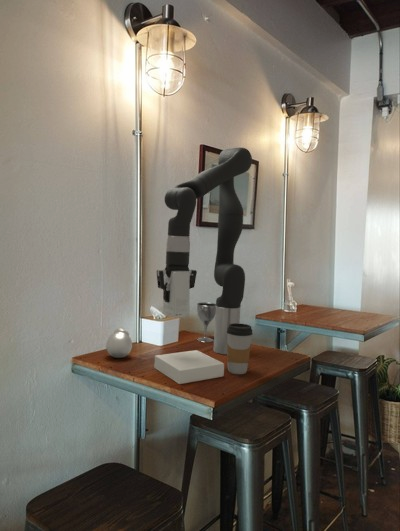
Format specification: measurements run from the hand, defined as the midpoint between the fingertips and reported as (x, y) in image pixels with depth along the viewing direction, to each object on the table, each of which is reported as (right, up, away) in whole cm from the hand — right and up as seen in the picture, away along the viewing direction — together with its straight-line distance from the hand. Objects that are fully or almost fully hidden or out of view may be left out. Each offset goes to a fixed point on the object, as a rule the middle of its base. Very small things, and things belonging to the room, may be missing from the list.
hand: (175, 301), depth 138 cm
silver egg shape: (-20, -20, +8) cm, 29 cm away
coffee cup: (+20, -23, -1) cm, 30 cm away
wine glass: (+10, -19, +37) cm, 43 cm away
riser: (+4, -22, -4) cm, 23 cm away
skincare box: (0, -5, 0) cm, 5 cm away
